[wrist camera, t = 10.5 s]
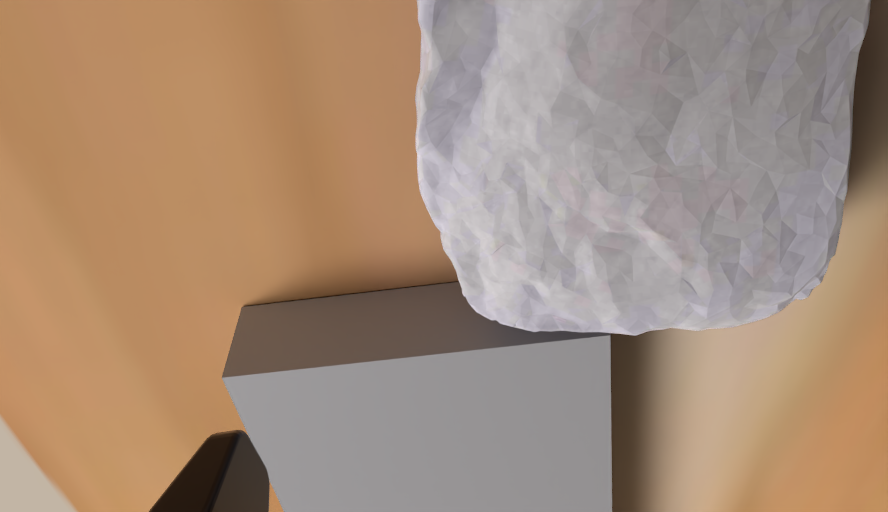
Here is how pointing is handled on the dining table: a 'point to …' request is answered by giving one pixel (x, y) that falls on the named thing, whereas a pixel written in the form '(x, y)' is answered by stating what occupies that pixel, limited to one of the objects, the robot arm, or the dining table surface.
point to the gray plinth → (421, 406)
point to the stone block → (636, 155)
